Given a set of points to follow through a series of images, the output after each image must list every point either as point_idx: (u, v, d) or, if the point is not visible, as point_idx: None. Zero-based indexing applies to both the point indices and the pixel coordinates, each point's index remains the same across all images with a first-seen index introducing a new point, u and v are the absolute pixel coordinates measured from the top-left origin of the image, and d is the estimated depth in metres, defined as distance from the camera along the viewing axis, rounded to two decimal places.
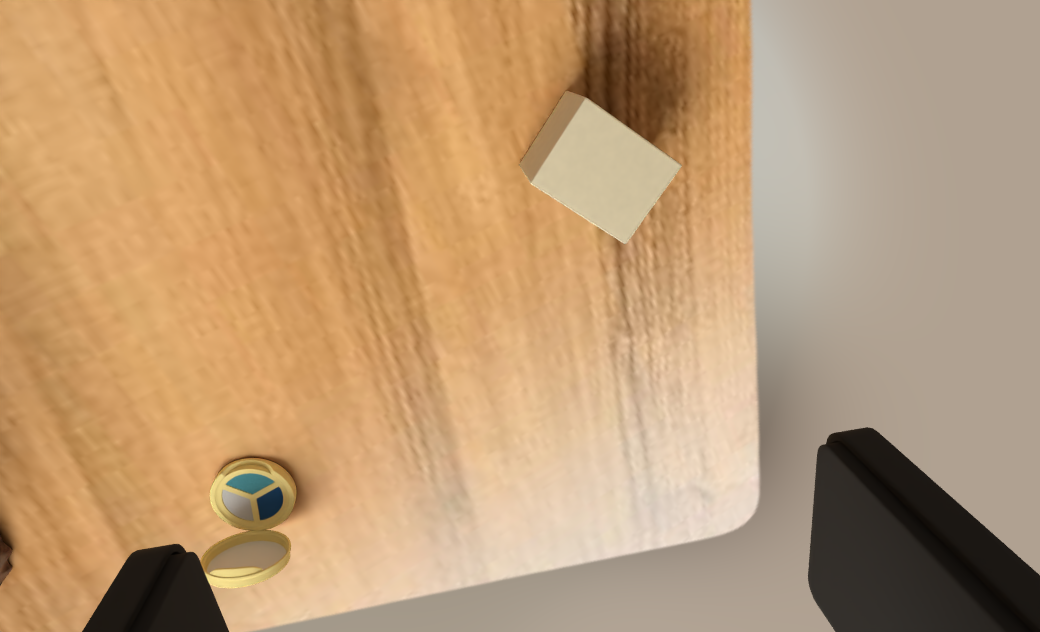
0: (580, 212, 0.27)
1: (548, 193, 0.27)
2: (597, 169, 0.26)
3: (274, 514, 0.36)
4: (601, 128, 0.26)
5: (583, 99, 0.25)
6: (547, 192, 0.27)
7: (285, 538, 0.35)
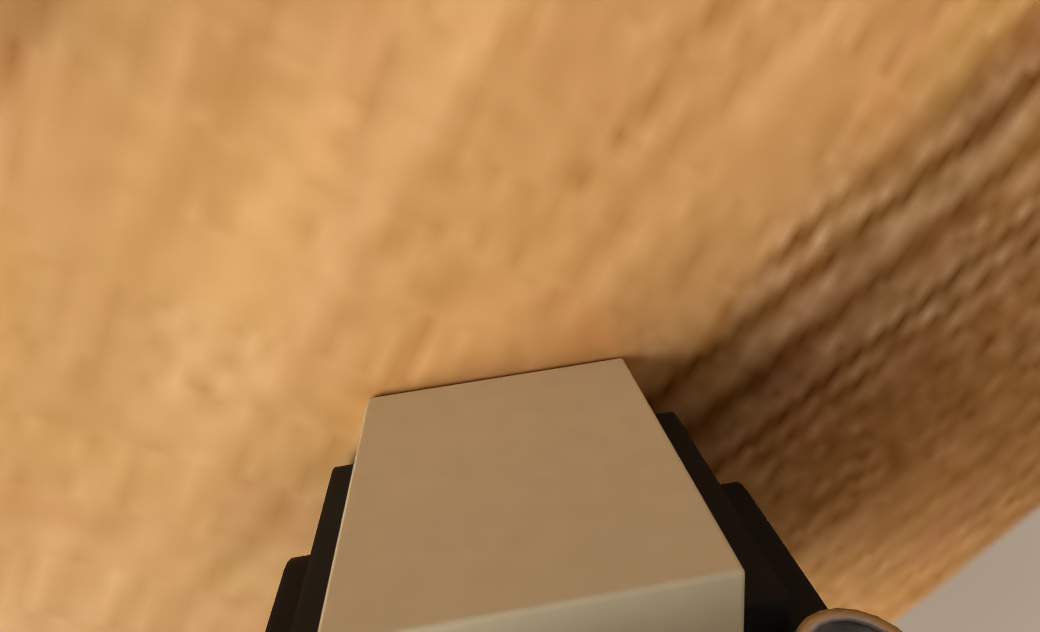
0: None
1: None
2: None
3: None
4: None
5: (728, 562, 0.06)
6: None
7: None
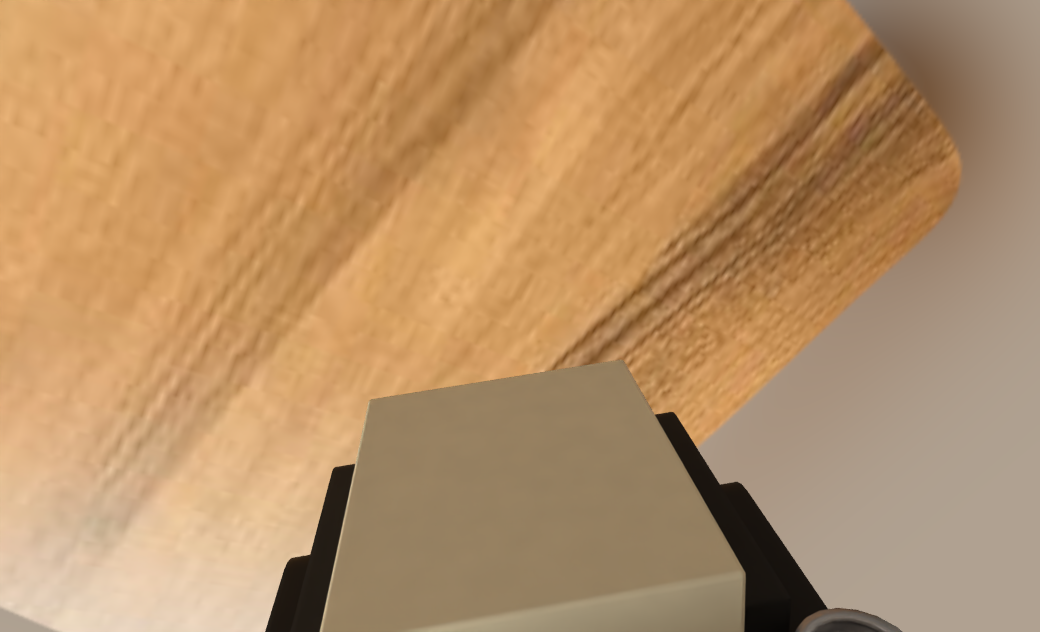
0: None
1: None
2: None
3: None
4: None
5: (729, 564, 0.06)
6: None
7: None
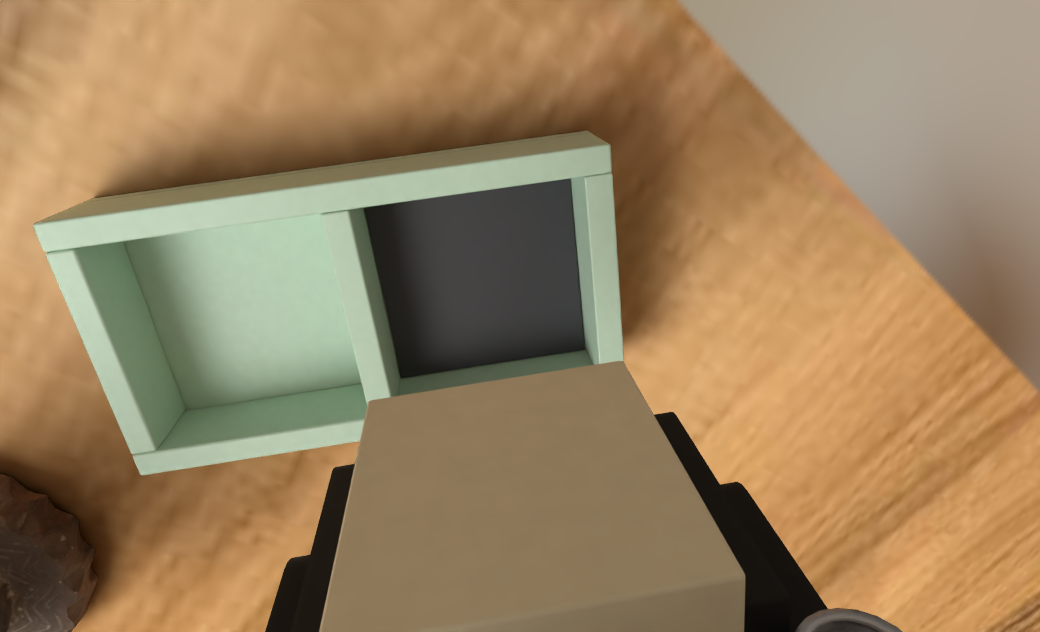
0: None
1: None
2: None
3: None
4: None
5: (728, 565, 0.06)
6: None
7: None
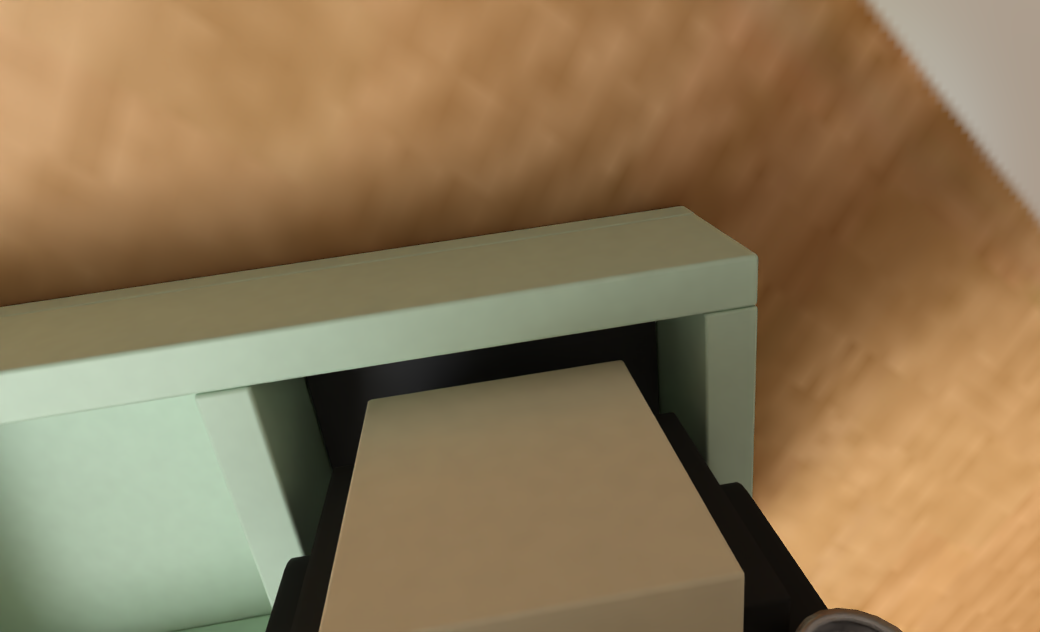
0: None
1: None
2: None
3: None
4: None
5: (727, 564, 0.06)
6: None
7: None
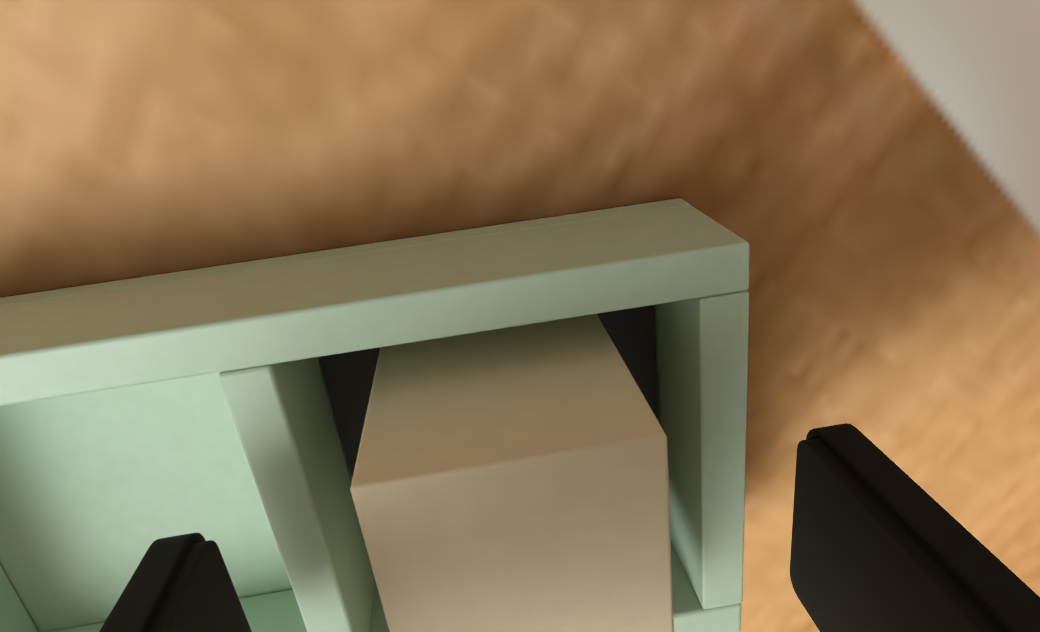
0: None
1: (369, 543, 0.08)
2: (526, 586, 0.09)
3: None
4: (624, 521, 0.09)
5: (655, 430, 0.08)
6: (369, 539, 0.08)
7: None
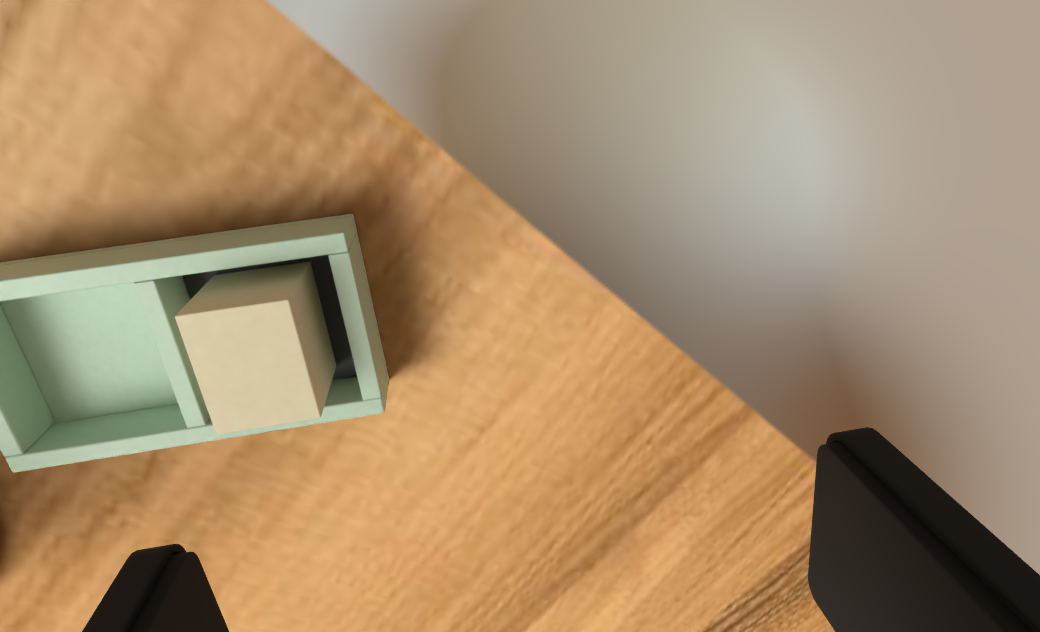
0: (198, 377, 0.24)
1: (183, 338, 0.23)
2: (246, 359, 0.24)
3: None
4: (279, 333, 0.23)
5: (286, 298, 0.23)
6: (183, 336, 0.23)
7: None
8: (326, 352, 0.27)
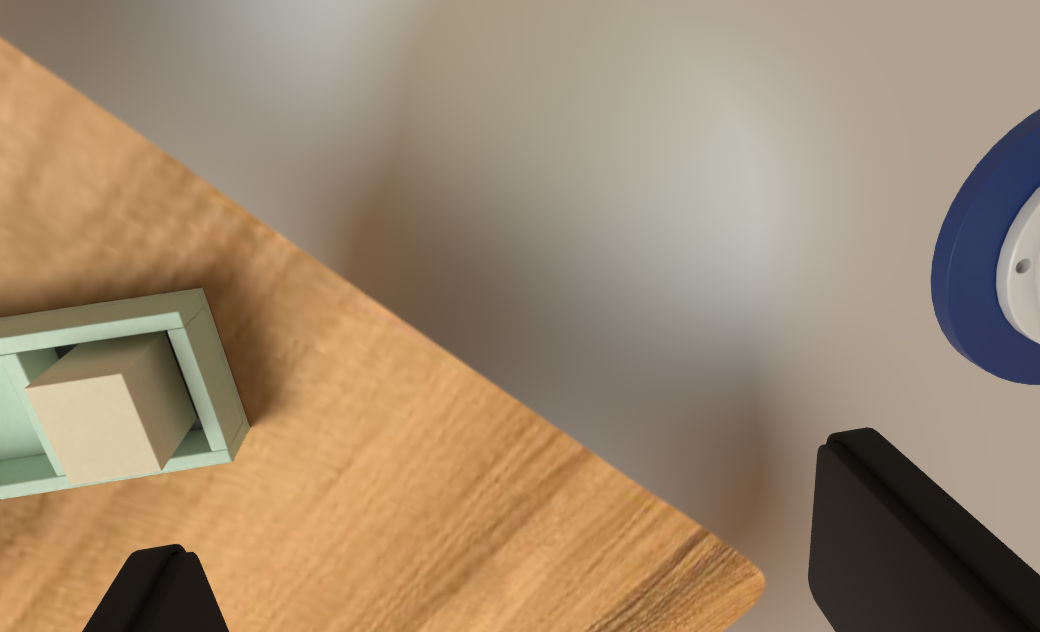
0: (50, 438, 0.28)
1: (33, 406, 0.27)
2: (90, 422, 0.28)
3: None
4: (116, 401, 0.27)
5: (120, 372, 0.27)
6: (32, 405, 0.27)
7: None
8: (180, 409, 0.31)
